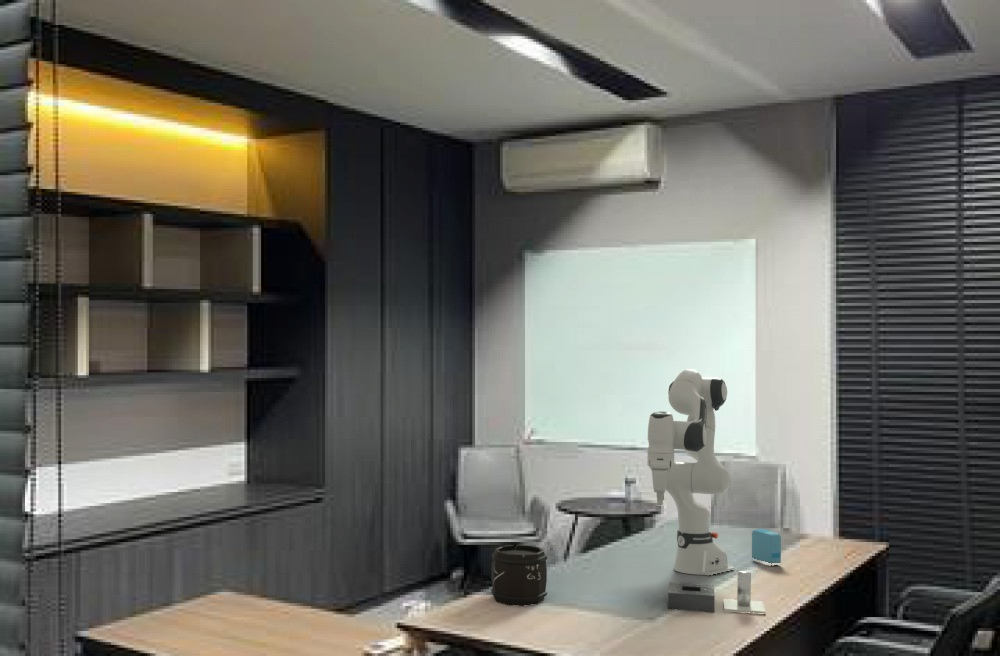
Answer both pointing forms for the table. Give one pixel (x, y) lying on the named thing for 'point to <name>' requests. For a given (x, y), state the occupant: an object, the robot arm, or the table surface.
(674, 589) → the block
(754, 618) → the table surface
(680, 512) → the robot arm
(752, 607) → the pad
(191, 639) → the table surface
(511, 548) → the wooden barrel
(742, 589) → the key peg
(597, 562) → the table surface
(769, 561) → the data package
